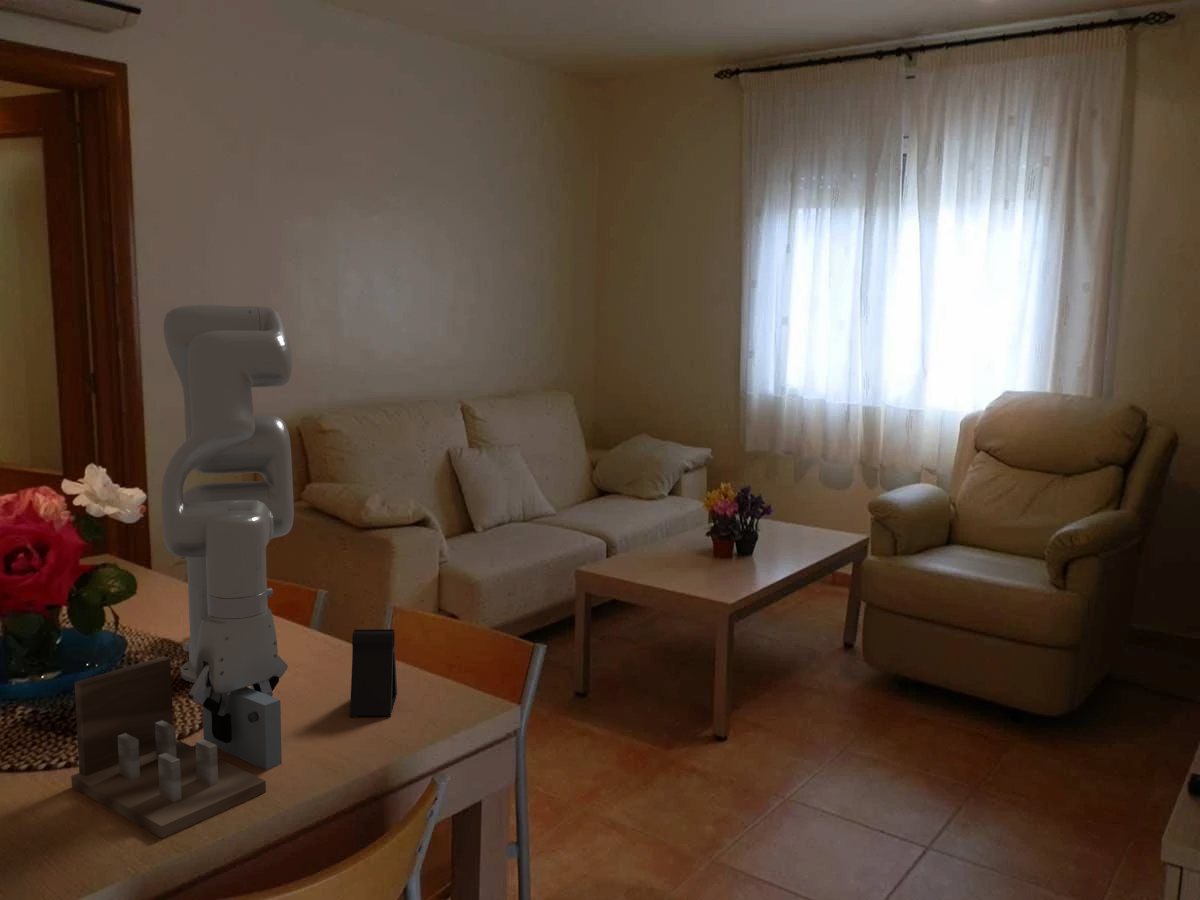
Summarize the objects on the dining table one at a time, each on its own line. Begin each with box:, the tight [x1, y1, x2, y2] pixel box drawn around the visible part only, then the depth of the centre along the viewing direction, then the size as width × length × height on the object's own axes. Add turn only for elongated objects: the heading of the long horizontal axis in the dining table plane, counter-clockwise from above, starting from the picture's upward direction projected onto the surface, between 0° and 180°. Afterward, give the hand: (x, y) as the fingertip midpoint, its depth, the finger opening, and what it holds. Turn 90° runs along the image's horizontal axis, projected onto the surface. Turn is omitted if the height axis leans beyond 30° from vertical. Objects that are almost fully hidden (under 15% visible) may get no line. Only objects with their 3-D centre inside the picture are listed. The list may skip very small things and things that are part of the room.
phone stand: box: [349, 628, 398, 718], centre depth 152 cm, size 9×6×12 cm, turn 5°
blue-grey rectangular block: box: [202, 686, 283, 771], centre depth 136 cm, size 14×3×9 cm, turn 55°
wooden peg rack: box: [71, 655, 267, 839], centre depth 125 cm, size 20×14×14 cm
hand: (241, 731), depth 136 cm, fingers open, 5 cm apart
